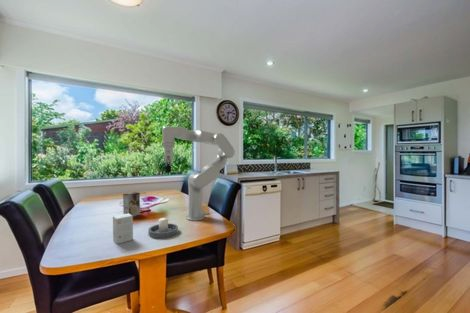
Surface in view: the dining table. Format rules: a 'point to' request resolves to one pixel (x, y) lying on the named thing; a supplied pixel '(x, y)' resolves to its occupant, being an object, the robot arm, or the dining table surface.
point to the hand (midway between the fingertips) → (168, 171)
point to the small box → (122, 228)
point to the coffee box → (131, 203)
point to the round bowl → (171, 232)
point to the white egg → (163, 225)
